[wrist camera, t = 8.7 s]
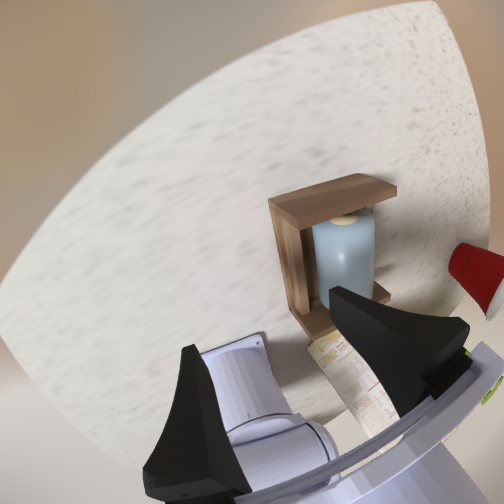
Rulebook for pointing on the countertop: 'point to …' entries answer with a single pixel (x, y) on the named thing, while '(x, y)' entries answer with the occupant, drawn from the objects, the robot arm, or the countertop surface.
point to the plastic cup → (480, 276)
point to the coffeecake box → (356, 385)
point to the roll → (345, 253)
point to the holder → (302, 242)
